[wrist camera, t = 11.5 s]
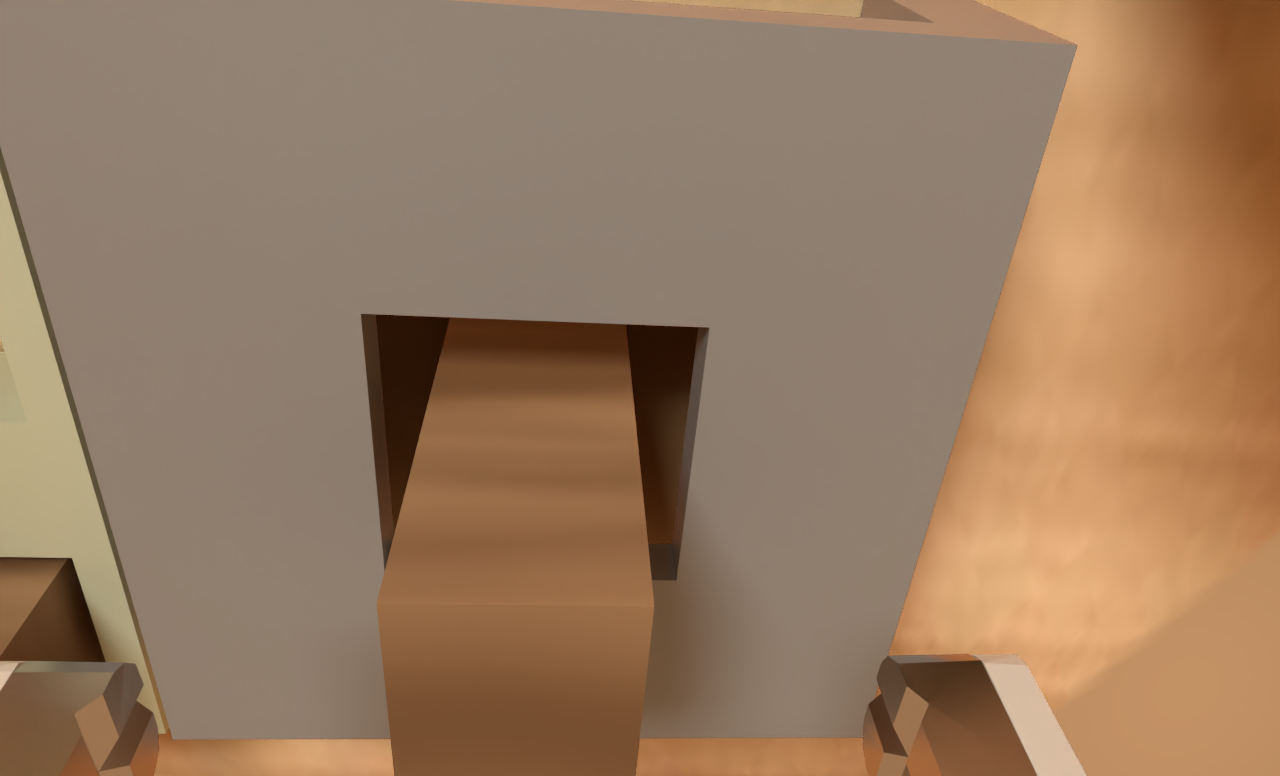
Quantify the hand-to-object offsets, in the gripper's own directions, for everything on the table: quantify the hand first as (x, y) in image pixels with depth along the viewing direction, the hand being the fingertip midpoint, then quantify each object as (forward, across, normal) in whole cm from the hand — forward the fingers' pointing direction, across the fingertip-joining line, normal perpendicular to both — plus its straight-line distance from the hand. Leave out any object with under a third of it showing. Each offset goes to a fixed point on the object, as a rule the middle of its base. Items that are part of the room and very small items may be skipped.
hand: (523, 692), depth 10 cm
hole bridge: (+10, 0, +1) cm, 10 cm away
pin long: (+10, 0, +1) cm, 10 cm away
